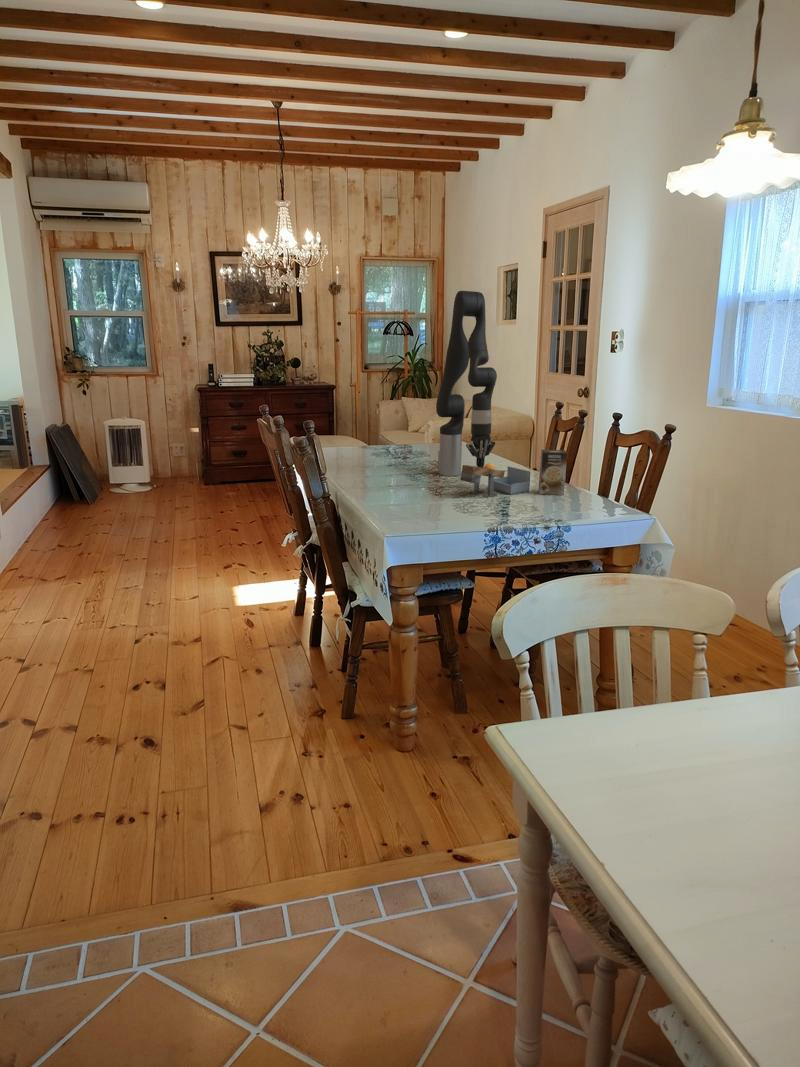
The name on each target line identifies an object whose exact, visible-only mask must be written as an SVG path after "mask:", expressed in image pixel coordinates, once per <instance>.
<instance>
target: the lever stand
mask: <svg viewBox="0 0 800 1067" xmlns="http://www.w3.org/2000/svg"><path fill="white" fill-rule="evenodd" d="M494 476H495V475H494V474H493V473H489V474H488V476H487V477H488V480H487V481H488V482H487V493H486V494H483V498H485V497H487V498H486V499H489V498H488V497H490V498H496V497H498V493H494V490H493V487H494V478H495V477H494ZM479 492H482V493H484V489H481V488H480V484H477V483H473V490H469V494H472V493H475V494H480V493H479ZM495 496H496V497H495Z"/></svg>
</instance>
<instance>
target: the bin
mask: <svg viewBox="0 0 800 1067" xmlns="http://www.w3.org/2000/svg"><path fill="white" fill-rule="evenodd" d="M506 474H507V475H506V476H504V478H499V477H494V487H493V491H495V490H496V492H498V491H500V492H499V493H502V492H503V494H505V493H506V494H507V495H509V494H510V496H513V494H514V495H520V494H519V493H521V494H525V493H524V492H527V493H530V487H531V484H530V483H531V470H526V469H522V468H518V467H513V466H509V465H508V466H507V470H506Z"/></svg>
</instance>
